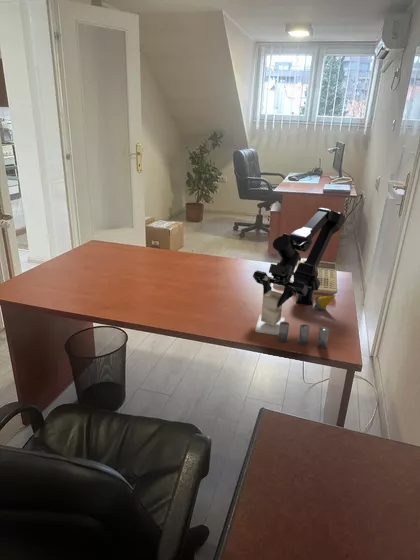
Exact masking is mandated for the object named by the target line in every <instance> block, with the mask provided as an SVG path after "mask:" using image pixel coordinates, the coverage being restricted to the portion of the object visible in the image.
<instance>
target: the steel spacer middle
mask: <svg viewBox="0 0 420 560" xmlns="http://www.w3.org/2000/svg"><path fill="white" fill-rule="evenodd" d="M310 329H311V327H310V326H309V325H308V324H303V323H302V324H300V326H299V333H298V340H297V341H298V342H297V343H298V345H300V346H307V345H308V343H309V336H310Z"/></svg>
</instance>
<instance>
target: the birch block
mask: <svg viewBox="0 0 420 560" xmlns="http://www.w3.org/2000/svg"><path fill="white" fill-rule="evenodd" d="M282 294H283V292H278V291H275V290H272V289H271V290H270V291H268V292H267V293H265V294H264V295H263V294H262V295H263V296H262V304H261V305H262V306H261V321H263V322H266V323H268V324H271V325H275V324H276V323H277V322H279V321H280V320H281V317H282V311H283V304H282V305H281V306H280V307H277V305H278V302H279V300H280V298H281V296H282Z"/></svg>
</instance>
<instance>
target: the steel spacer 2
mask: <svg viewBox="0 0 420 560" xmlns="http://www.w3.org/2000/svg"><path fill="white" fill-rule="evenodd" d="M318 329H319V331H318V336H317V337H318V338H317V342H316V343H317V344H316V346H317V347H318V348H319V349H326V348H327V346H328V340H329V335H330V329H329V328H328V327H326V326H320V327H319V328H318Z"/></svg>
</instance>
